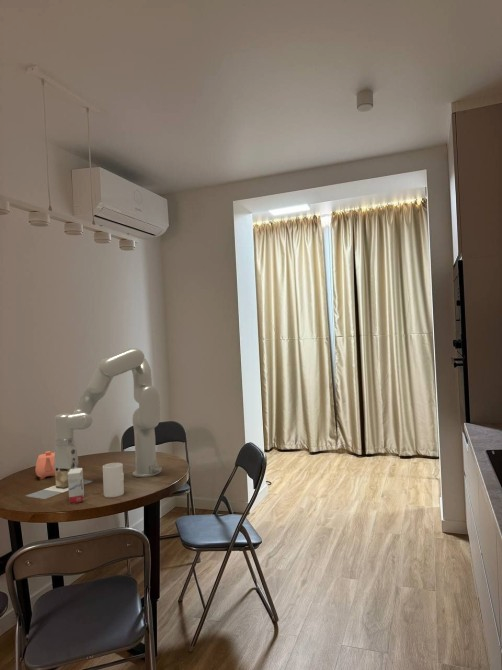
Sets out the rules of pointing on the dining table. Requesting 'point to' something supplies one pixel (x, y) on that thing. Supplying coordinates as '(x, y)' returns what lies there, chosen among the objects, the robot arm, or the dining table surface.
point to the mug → (113, 479)
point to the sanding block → (61, 479)
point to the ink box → (76, 485)
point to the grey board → (51, 491)
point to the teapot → (45, 465)
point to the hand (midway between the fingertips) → (66, 483)
